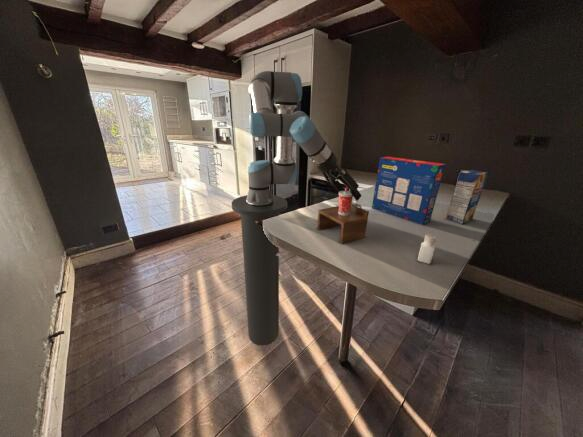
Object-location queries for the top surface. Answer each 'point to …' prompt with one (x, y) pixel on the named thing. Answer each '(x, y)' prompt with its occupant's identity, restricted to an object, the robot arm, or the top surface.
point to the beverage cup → (345, 202)
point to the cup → (356, 204)
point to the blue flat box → (407, 188)
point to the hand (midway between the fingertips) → (350, 194)
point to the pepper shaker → (427, 249)
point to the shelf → (345, 222)
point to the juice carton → (466, 196)
